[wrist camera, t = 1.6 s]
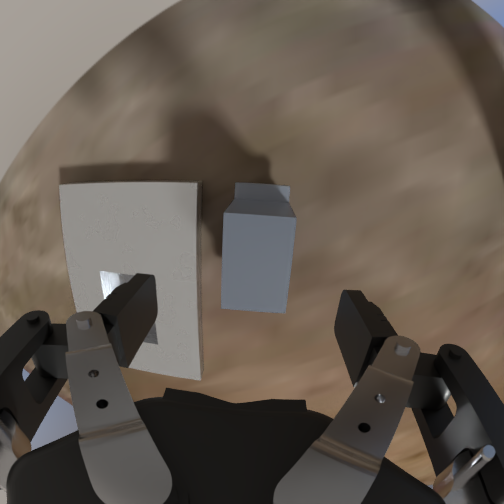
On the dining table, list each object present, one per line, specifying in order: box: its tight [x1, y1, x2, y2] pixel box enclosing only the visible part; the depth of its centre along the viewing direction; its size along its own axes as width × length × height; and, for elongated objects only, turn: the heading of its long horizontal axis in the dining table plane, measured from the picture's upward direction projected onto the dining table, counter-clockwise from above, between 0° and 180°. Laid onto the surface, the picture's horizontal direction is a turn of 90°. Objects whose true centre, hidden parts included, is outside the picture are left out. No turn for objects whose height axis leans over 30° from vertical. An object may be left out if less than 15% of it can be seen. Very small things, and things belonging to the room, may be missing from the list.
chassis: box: [59, 180, 204, 380], centre depth 25 cm, size 14×20×2 cm
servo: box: [221, 182, 296, 313], centre depth 20 cm, size 4×8×8 cm, turn 177°
